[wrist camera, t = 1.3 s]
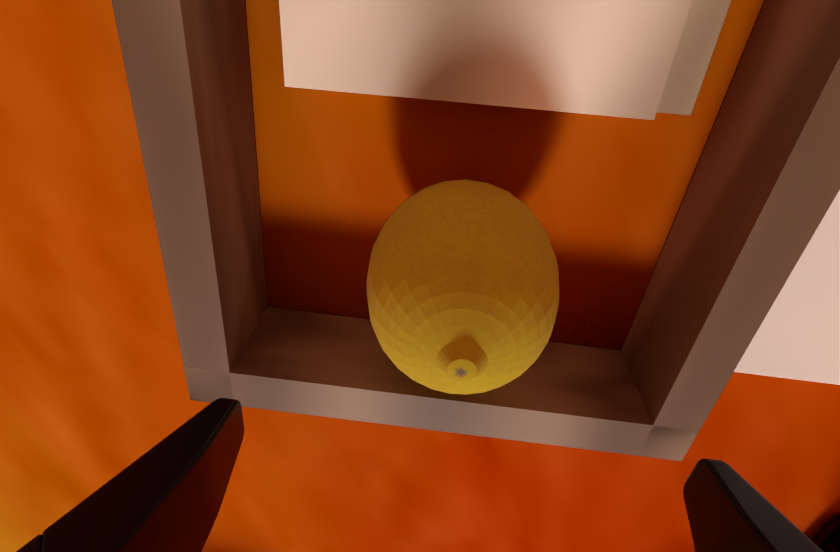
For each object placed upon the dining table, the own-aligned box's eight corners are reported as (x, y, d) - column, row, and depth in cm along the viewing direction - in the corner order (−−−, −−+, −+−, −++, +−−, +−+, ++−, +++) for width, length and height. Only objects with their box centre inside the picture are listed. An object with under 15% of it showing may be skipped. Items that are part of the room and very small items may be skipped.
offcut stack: (721, -45, 14) (780, -48, 11) (672, 103, 16) (712, 129, 13) (292, -82, 14) (255, -93, 11) (300, 70, 16) (270, 89, 14)
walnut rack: (900, -162, 12) (1075, -215, 9) (646, 383, 21) (681, 461, 18) (161, -250, 12) (45, -337, 9) (232, 332, 22) (190, 399, 18)
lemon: (374, 154, 17) (318, 276, 10) (539, 139, 16) (596, 259, 10) (396, 289, 20) (363, 456, 13) (537, 281, 19) (580, 452, 12)
